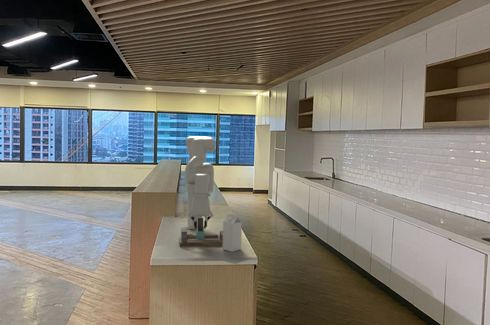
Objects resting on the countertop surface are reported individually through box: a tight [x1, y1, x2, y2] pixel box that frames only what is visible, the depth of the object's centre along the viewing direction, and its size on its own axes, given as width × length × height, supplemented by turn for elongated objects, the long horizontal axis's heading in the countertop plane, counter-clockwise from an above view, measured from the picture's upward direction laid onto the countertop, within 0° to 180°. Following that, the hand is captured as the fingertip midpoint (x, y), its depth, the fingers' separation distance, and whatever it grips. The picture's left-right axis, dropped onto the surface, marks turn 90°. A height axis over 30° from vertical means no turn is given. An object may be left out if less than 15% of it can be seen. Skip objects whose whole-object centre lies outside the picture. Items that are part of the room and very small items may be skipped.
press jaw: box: [195, 217, 205, 239], centre depth 247 cm, size 7×4×12 cm, turn 9°
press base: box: [178, 227, 223, 247], centre depth 248 cm, size 12×25×8 cm, turn 99°
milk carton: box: [222, 213, 243, 253], centre depth 236 cm, size 7×7×19 cm
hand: (200, 227), depth 247 cm, fingers open, 4 cm apart
